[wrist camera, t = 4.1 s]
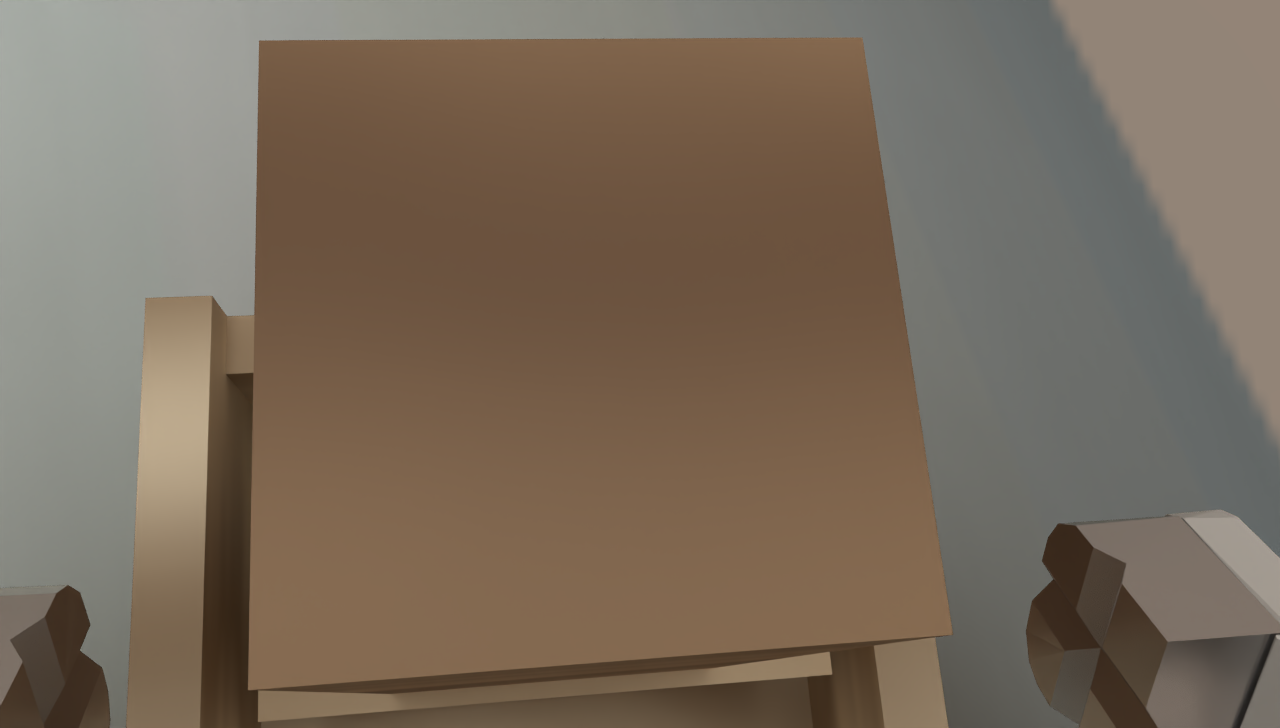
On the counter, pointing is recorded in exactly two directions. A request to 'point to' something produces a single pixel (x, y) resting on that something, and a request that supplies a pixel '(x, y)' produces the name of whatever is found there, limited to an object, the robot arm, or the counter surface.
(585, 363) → the block
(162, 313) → the tan piece
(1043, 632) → the robot arm
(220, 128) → the counter surface
